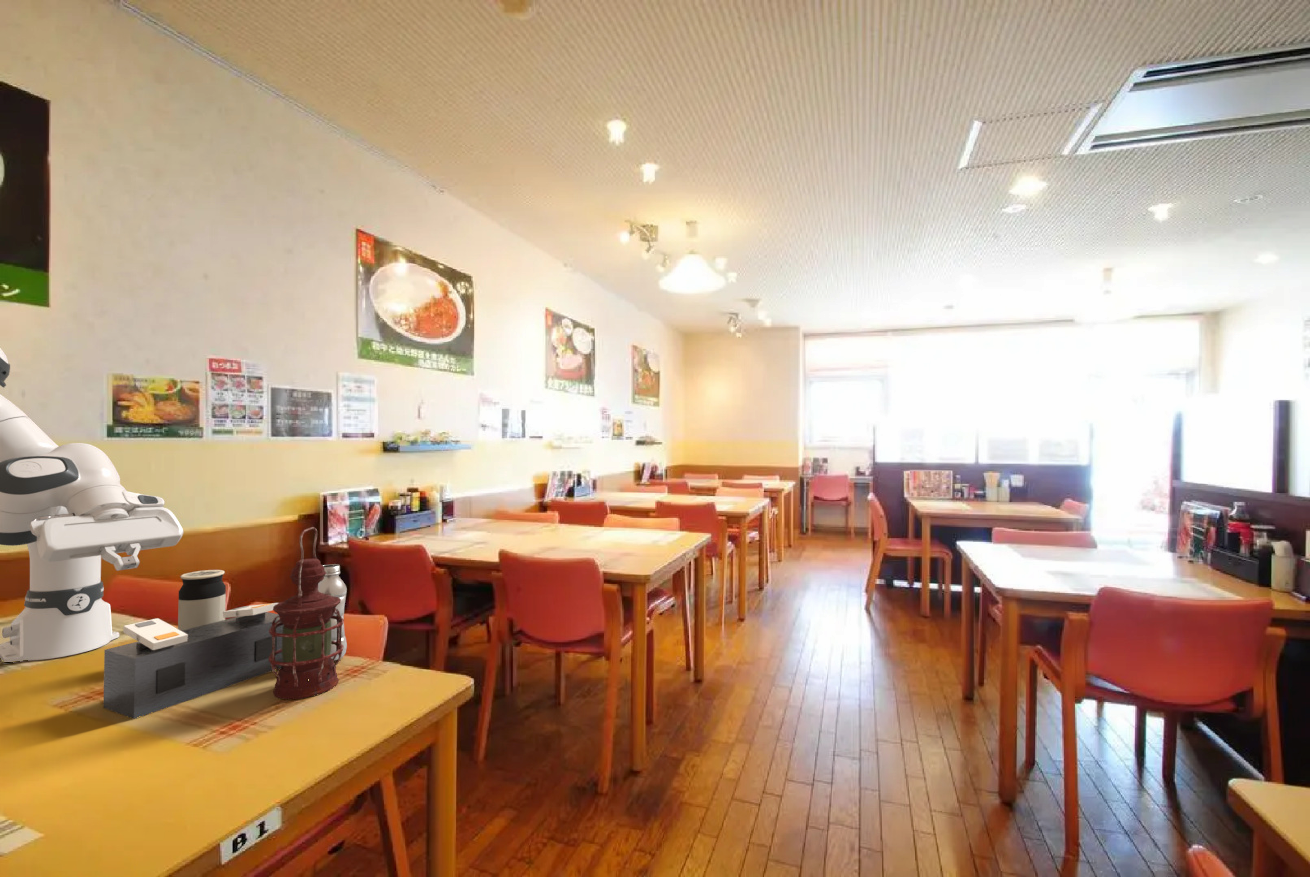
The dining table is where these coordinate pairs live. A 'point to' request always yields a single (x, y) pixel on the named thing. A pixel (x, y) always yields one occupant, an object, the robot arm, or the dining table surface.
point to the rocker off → (249, 610)
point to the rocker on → (155, 633)
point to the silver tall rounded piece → (337, 589)
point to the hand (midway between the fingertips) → (128, 567)
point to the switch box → (189, 665)
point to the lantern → (306, 634)
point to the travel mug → (201, 599)
